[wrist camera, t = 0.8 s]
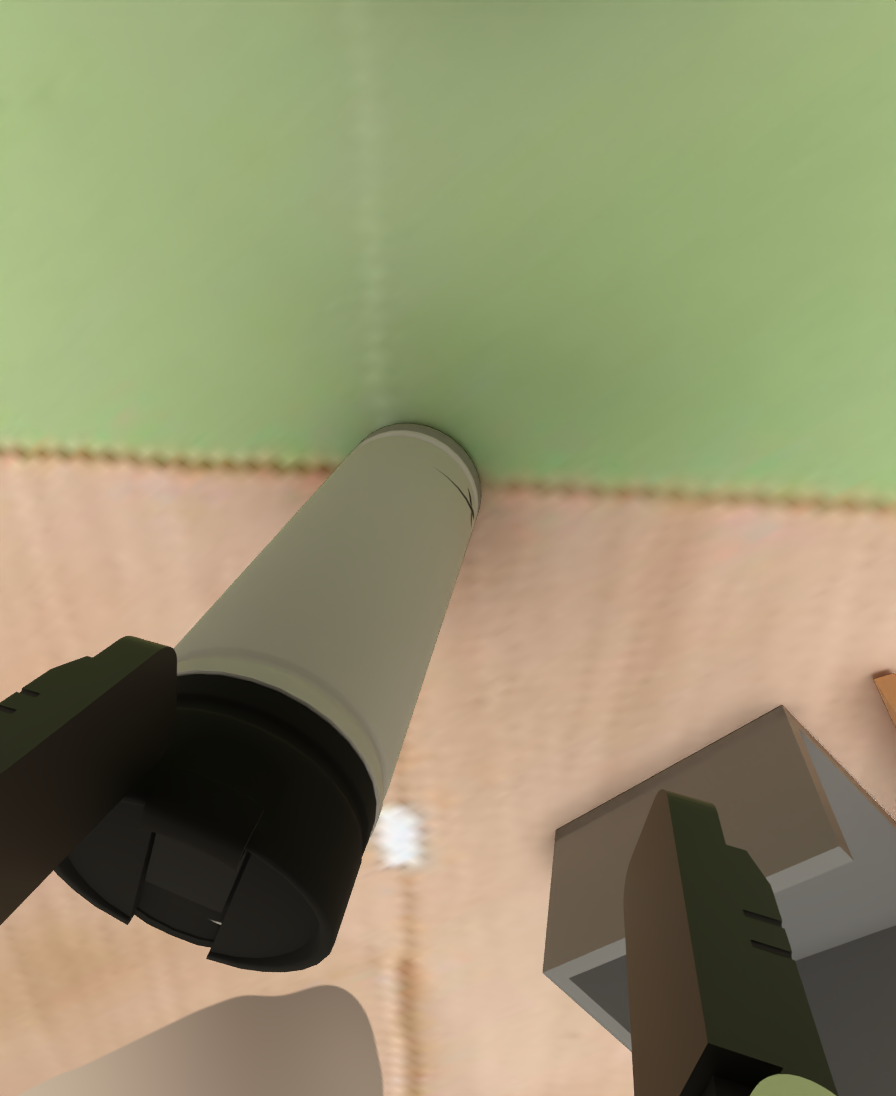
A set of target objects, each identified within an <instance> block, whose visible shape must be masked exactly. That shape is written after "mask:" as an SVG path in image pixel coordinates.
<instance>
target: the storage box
mask: <svg viewBox="0 0 896 1096" xmlns="http://www.w3.org/2000/svg"><path fill="white" fill-rule="evenodd" d="M661 789H665V790H668V791H672V792H675V793H679V794H682V795H686V796H689V797H693V798H696V799H700V800H704V801H707V802H711V803H713V804H714V805H715V807H716V809H717V812H718V816H719V820H720V823H721V827H722V831H723V835H724V839H725V843H726V845H729V846H733V847H736V848H740V849H743V850H746V851H747V852H748V854H749V855H750V856H751V858H752V859H753V861H754V862H755V863H756V865H757V866H758V868H759V869H760V871H761V872H762V873H763V875H764V876H765V878H766V879H767V880H768V882H769V883H770V885H771V887H772V890H773V893H774V896H775V900H776V903H777V906H778V909H779V912H780V915H781V918H782V928H784V929H785V931H786V934H787V937H788V940H789V943H790V947H791V950H792V960H795V962H796V965H797V968H798V972H799V975H800V978H801V981H802V984H803V987H804V990H805V994H806V997H807V1000H808V1003H809V1006H810V1009H811V1012H812V1015H813V1019H814V1022H815V1025H816V1028H817V1031H818V1034H819V1037H820V1041H821V1044H822V1047H823V1050H824V1053H825V1056H826V1059H827V1062H828V1066H829V1069H830V1072H831V1075H832V1078H833V1081H834V1084H835V1087H836V1090H837V1092H838V1095H839V1096H896V822H895V821H894V820H893V819H892V818H891V817H890V816H889V815H888V814H887V813H886V812H885V811H884V810H883V809H882V808H881V807H880V806H879V805H878V804H877V803H876V802H875V801H874V800H873V799H872V798H871V797H870V796H869V795H868V793H867V792H866V791H865V790H864V789H863V788H862V787H861V786H860V785H859V784H858V783H857V782H856V781H855V780H854V779H853V778H852V777H851V776H850V775H849V774H848V773H847V772H846V771H845V770H844V769H843V768H842V767H841V766H840V765H839V763H838V762H837V761H836V760H835V759H834V758H833V757H832V756H831V755H830V754H829V753H828V752H827V751H826V750H825V749H824V748H823V747H822V746H821V745H820V744H819V743H818V742H817V741H816V740H815V739H814V738H813V737H812V736H811V734H810V733H809V732H808V731H807V730H806V729H805V728H804V727H803V726H802V725H801V724H800V723H799V722H798V721H797V720H796V719H795V718H794V717H793V716H792V715H791V714H790V713H789V712H788V711H787V710H786V709H785V708H784V707H783V705H782V706H780V707H778V708H776V709H774V710H773V711H771V712H769V713H767V714H765V715H764V716H762V717H760V718H758V719H756V720H754V721H753V722H751V723H749V724H747V725H745V726H744V727H742V728H740V729H738V730H736V731H735V732H733V733H731V734H729V735H727V736H726V737H724V738H722V739H720V740H718V741H717V742H715V743H713V744H711V745H709V746H707V747H706V748H704V749H702V750H700V751H698V752H697V753H695V754H693V755H691V756H689V757H688V758H686V759H684V760H682V761H680V762H679V763H677V764H675V765H673V766H671V767H670V768H668V769H666V770H664V771H662V772H660V773H659V774H657V775H655V776H653V777H651V778H650V779H648V780H646V781H644V782H642V783H641V784H639V785H637V786H635V787H633V788H632V789H630V790H628V791H626V792H624V793H623V794H621V795H619V796H617V797H615V798H613V799H612V800H610V801H608V802H606V803H604V804H603V805H601V806H599V807H597V808H595V809H594V810H592V811H590V812H588V813H586V814H585V815H583V816H581V817H579V818H577V819H576V820H574V821H572V822H570V823H568V824H566V825H565V826H563V827H561V828H559V829H557V830H556V835H555V846H554V856H553V867H552V878H551V888H550V899H549V910H548V921H547V931H546V942H545V953H544V964H543V974H545V975H546V976H547V977H548V978H549V979H550V980H551V981H552V982H554V983H555V984H556V985H557V986H558V987H559V988H560V989H561V990H563V991H564V992H565V993H566V994H567V995H568V996H569V997H570V998H572V999H573V1000H574V1001H575V1002H576V1003H577V1004H578V1005H579V1006H580V1007H582V1008H583V1009H584V1010H585V1011H586V1012H587V1013H588V1014H589V1015H591V1016H592V1017H593V1018H594V1019H595V1020H596V1021H597V1022H598V1023H600V1024H601V1025H602V1026H603V1027H604V1028H605V1029H606V1030H607V1031H609V1032H610V1033H611V1034H612V1035H613V1036H614V1037H615V1038H616V1039H618V1040H619V1041H620V1042H621V1043H622V1044H623V1045H624V1046H625V1047H627V1048H628V1049H629V1050H630V1051H631V1052H632V1045H631V1028H630V1011H629V994H628V976H627V959H626V942H625V925H624V908H623V898H624V886H625V879H626V874H627V870H628V866H629V862H630V860H631V857H632V854H633V852H634V849H635V847H636V844H637V842H638V839H639V837H640V834H641V832H642V829H643V826H644V824H645V821H646V819H647V816H648V814H649V811H650V809H651V806H652V804H653V801H654V799H655V796H656V795H657V793H658V792H659V790H661Z"/></svg>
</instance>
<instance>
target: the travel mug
mask: <svg viewBox="0 0 896 1096" xmlns="http://www.w3.org/2000/svg"><path fill="white" fill-rule="evenodd" d="M480 502H481V486H480V481H479V477H478V474H477V470H476V468H475V467H474V465H473V463H472V461H471V459H470V457H469V456H468V455H467V454H466V452H465V451H464V450H463V448H462V447H461V446H459V445H458V444H457V443H456V442H455V441H454V440H453V439H451V438H450V437H448V436H447V435H445V434H443V433H442V432H440V431H438V430H435V429H433V428H430V427H427V426H423V425H417V424H411V423H410V424H395V425H390V426H386V427H383V428H381V429H379V430H377V431H375V432H373V433H371V434H370V435H369V436H367V437H366V438H365V439H364V440H362V441H361V442H360V444H359V445H358V446H357V447H356V448H355V449H354V450H353V451H352V453H351V454H350V455H349V456H348V457H347V458H346V459H345V460H344V461H343V462H342V463H341V465H340V466H339V467H338V468H337V469H336V470H335V471H334V472H333V473H332V474H331V476H330V477H329V478H328V479H327V480H326V481H325V482H324V483H323V484H322V486H321V487H320V488H319V489H318V490H317V491H316V492H315V493H314V494H313V495H312V497H311V498H310V499H309V500H308V501H307V502H306V503H305V504H304V505H303V506H302V508H301V509H300V510H299V511H298V512H297V513H296V514H295V515H294V516H293V518H292V519H291V520H290V521H289V522H288V523H287V524H286V525H285V526H284V527H283V529H282V530H281V531H280V532H279V533H278V534H277V535H276V536H275V537H274V538H273V540H272V541H271V542H270V543H269V544H268V545H267V546H266V547H265V548H264V550H263V551H262V552H261V553H260V554H259V555H258V556H257V557H256V558H255V559H254V561H253V562H252V563H251V564H250V565H249V566H248V567H247V568H246V569H245V570H244V572H243V573H242V574H241V575H240V576H239V577H238V578H237V579H236V580H235V582H234V583H233V584H232V585H231V586H230V587H229V588H228V589H227V590H226V591H225V593H224V594H223V595H222V596H221V597H220V598H219V599H218V600H217V601H216V602H215V604H214V605H213V606H212V607H211V608H210V609H209V610H208V611H207V612H206V614H205V615H204V616H203V617H202V618H201V619H200V620H199V621H198V622H197V623H196V625H195V626H194V627H193V628H192V629H191V630H190V631H189V632H188V633H187V634H186V636H185V637H184V638H183V639H182V640H181V641H180V642H179V643H178V644H177V646H176V647H175V648H174V650H175V652H176V655H177V703H176V727H175V731H174V735H173V738H172V740H171V742H170V745H169V747H168V748H167V750H166V752H165V753H164V755H163V756H162V758H161V759H160V760H159V761H158V762H157V763H156V764H155V765H154V766H153V767H152V768H151V769H150V771H149V772H148V773H147V774H146V775H145V776H144V777H143V778H142V779H141V780H140V781H139V782H138V783H137V784H136V785H135V786H134V787H133V788H132V789H131V790H130V791H129V792H128V793H127V794H126V795H125V796H124V797H123V799H122V800H121V801H120V802H119V803H118V804H117V805H116V806H115V807H114V808H113V809H112V810H111V811H110V812H109V813H108V814H107V815H106V816H105V817H104V818H103V819H102V820H101V821H100V822H99V823H98V824H97V826H96V827H95V828H94V829H93V830H92V831H91V832H90V833H89V834H88V835H87V836H86V837H85V838H84V839H83V840H82V841H81V842H80V843H79V844H78V845H77V846H76V847H75V848H74V849H73V850H72V851H71V852H70V854H69V855H68V856H67V857H66V858H65V859H64V860H63V861H62V862H61V863H60V864H59V865H58V866H57V867H56V868H55V869H54V871H55V872H56V874H57V875H58V876H59V877H61V878H62V879H63V880H64V881H65V882H66V883H67V884H68V885H69V886H70V887H71V888H72V889H73V890H75V891H76V892H77V893H78V894H80V895H81V896H82V897H84V898H85V899H86V900H88V901H89V902H90V903H91V904H93V905H94V906H96V907H97V908H99V909H101V910H102V911H104V912H106V913H108V914H109V915H111V916H113V917H115V918H116V919H118V920H120V921H121V922H123V923H125V924H127V925H128V924H129V922H130V921H131V919H132V917H133V916H134V915H136V916H137V917H139V918H140V919H141V920H143V921H144V922H146V923H147V924H149V925H151V926H153V927H155V928H157V929H159V930H162V931H164V932H166V933H168V934H170V935H172V936H175V937H177V938H180V939H183V940H185V941H188V942H190V943H193V944H196V945H200V946H205V947H211V949H210V952H209V954H208V956H207V958H206V959H209V960H213V961H216V962H219V963H223V964H226V965H230V966H233V967H237V968H240V969H247V970H255V971H262V972H290V971H297V970H303V969H306V968H309V967H311V966H314V965H317V964H318V963H320V962H321V961H322V960H323V959H324V958H326V957H327V956H328V955H329V954H330V952H331V950H332V948H333V945H334V943H335V940H336V937H337V934H338V931H339V928H340V925H341V922H342V919H343V916H344V913H345V910H346V907H347V904H348V901H349V898H350V895H351V892H352V889H353V886H354V883H355V880H356V877H357V874H358V871H359V868H360V865H361V860H362V856H363V853H364V851H365V848H366V846H367V843H368V841H369V838H370V837H371V836H372V833H373V831H374V828H375V826H376V823H377V821H378V818H379V815H380V812H381V809H382V804H383V800H384V798H385V795H386V793H387V790H388V788H389V785H390V782H391V778H392V775H393V772H394V769H395V766H396V763H397V760H398V757H399V754H400V751H401V748H402V745H403V742H404V739H405V736H406V732H407V729H408V726H409V723H410V720H411V717H412V714H413V711H414V708H415V705H416V702H417V699H418V696H419V693H420V690H421V687H422V683H423V680H424V677H425V674H426V671H427V668H428V665H429V662H430V659H431V656H432V653H433V650H434V647H435V644H436V641H437V637H438V634H439V631H440V628H441V625H442V622H443V619H444V616H445V613H446V610H447V607H448V604H449V601H450V598H451V595H452V592H453V588H454V585H455V582H456V579H457V576H458V573H459V570H460V567H461V564H462V561H463V558H464V555H465V552H466V549H467V546H468V542H469V539H470V536H471V533H472V530H473V527H474V524H475V521H476V518H477V515H478V512H479V509H480Z"/></svg>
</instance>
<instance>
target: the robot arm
mask: <svg viewBox="0 0 896 1096" xmlns="http://www.w3.org/2000/svg"><path fill="white" fill-rule="evenodd" d="M176 703H177V655H176V652H175V650H174V649H173V648H171V647H168V646H165V645H161V644H158V643H154V642H151V641H147V640H144V639H140V638H137V637H133V636H125V637H123V638H121V639H119V640H118V641H116V642H115V643H113V644H112V645H111V646H109V647H108V648H106V649H105V650H103V651H102V652H100V653H99V654H98V655H96V656H95V657H93V658H92V657H88V656H86V657H83V658H80V659H77V660H75V661H72V662H69V663H66V664H64V665H61V666H58V667H55V668H53V669H50V670H49V671H47V672H46V673H44V674H43V675H41V676H40V677H38V678H37V679H35V680H34V681H32V682H31V683H29V684H28V685H26V686H25V687H23V688H22V691H21V692H20V693H18V692H16V693H14V694H12V695H11V696H9V697H8V698H6V699H5V700H3V701H2V702H0V925H1V924H2V923H3V922H4V921H5V920H6V919H7V918H8V917H9V916H10V915H11V914H12V913H13V912H14V911H15V910H16V909H17V907H18V906H19V905H20V904H21V903H22V902H23V901H24V900H25V899H26V898H27V897H28V896H29V895H30V894H31V893H32V892H33V891H34V890H35V889H36V888H37V887H38V886H39V885H40V884H41V883H42V882H43V880H44V879H45V878H46V877H47V876H48V875H49V874H50V873H51V872H52V871H53V870H54V869H55V868H56V867H57V866H58V865H59V864H60V863H61V862H62V861H63V860H64V859H65V858H66V857H67V856H68V855H69V854H70V852H71V851H72V850H73V849H74V848H75V847H76V846H77V845H78V844H79V843H80V842H81V841H82V840H83V839H84V838H85V837H86V836H87V835H88V834H89V833H90V832H91V831H92V830H93V829H94V828H95V827H96V826H97V824H98V823H99V822H100V821H101V820H102V819H103V818H104V817H105V816H106V815H107V814H108V813H109V812H110V811H111V810H112V809H113V808H114V807H115V806H116V805H117V804H118V803H119V802H120V801H121V800H122V799H123V797H124V796H125V795H126V794H127V793H128V792H129V791H130V790H131V789H132V788H133V787H134V786H135V785H136V784H137V783H138V782H139V781H140V780H141V779H142V778H143V777H144V776H145V775H146V774H147V773H148V772H149V771H150V769H151V768H152V767H153V766H154V765H155V764H156V763H157V762H158V761H159V760H160V759H161V758H162V756H163V755H164V753H165V752H166V750H167V748H168V747H169V745H170V742H171V740H172V738H173V735H174V731H175V727H176ZM623 908H624V925H625V942H626V959H627V976H628V994H629V1011H630V1028H631V1045H632V1062H633V1079H634V1096H839V1095H838V1092H837V1090H836V1087H835V1084H834V1081H833V1078H832V1075H831V1072H830V1069H829V1066H828V1062H827V1059H826V1056H825V1053H824V1050H823V1047H822V1044H821V1041H820V1037H819V1034H818V1031H817V1028H816V1025H815V1022H814V1019H813V1015H812V1012H811V1009H810V1006H809V1003H808V1000H807V997H806V994H805V990H804V987H803V984H802V981H801V978H800V975H799V972H798V968H797V965H796V962H795V960H792V950H791V947H790V943H789V940H788V937H787V934H786V931H785V929H784V928H782V918H781V915H780V912H779V909H778V906H777V903H776V900H775V896H774V893H773V890H772V887H771V885H770V883H769V882H768V880H767V879H766V878H765V876H764V875H763V873H762V872H761V871H760V869H759V868H758V866H757V865H756V863H755V862H754V861H753V859H752V858H751V856H750V855H749V854H748V852H747V851H746V850H743V849H740V848H736V847H733V846H729V845H726V843H725V839H724V835H723V831H722V827H721V823H720V820H719V816H718V812H717V809H716V807H715V805H714V804H713V803H711V802H707V801H704V800H700V799H696V798H693V797H689V796H686V795H682V794H679V793H675V792H672V791H668V790H665V789H661V790H659V792H658V793H657V795H656V796H655V799H654V801H653V804H652V806H651V809H650V811H649V814H648V816H647V819H646V821H645V824H644V826H643V829H642V832H641V834H640V837H639V839H638V842H637V844H636V847H635V849H634V852H633V854H632V857H631V860H630V862H629V866H628V870H627V874H626V879H625V886H624V898H623Z"/></svg>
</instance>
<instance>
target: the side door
mask: <svg viewBox="0 0 896 1096" xmlns="http://www.w3.org/2000/svg"><path fill="white" fill-rule="evenodd" d="M874 681H875V684H876V686H877V688H878V690H879V692H880V695H881V697H882V699H883V701H884V703H885V706H886V708H887V710H888V712H889V714H890V717H891V719H892V721H893V723H894V725H895V728H896V675H895V674H894V673H893V674H890V675H886V676H883V677H880V678H876V679H874Z"/></svg>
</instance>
